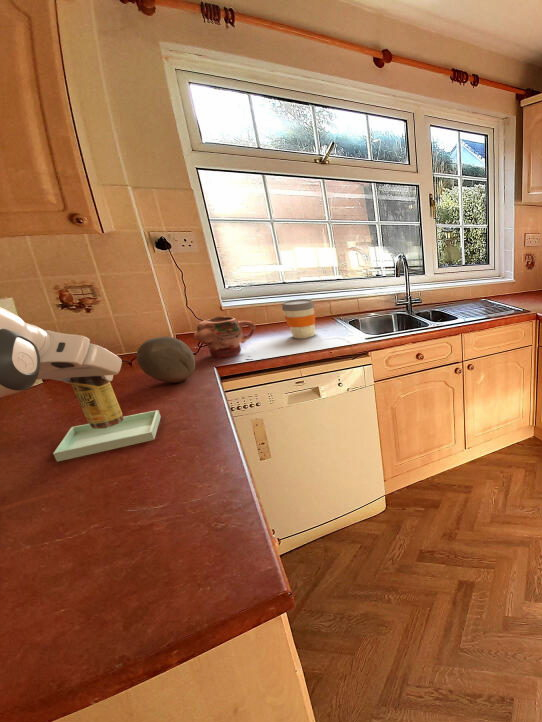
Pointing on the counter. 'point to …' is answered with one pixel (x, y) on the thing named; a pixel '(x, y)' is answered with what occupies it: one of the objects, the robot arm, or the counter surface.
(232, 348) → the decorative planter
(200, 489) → the counter surface
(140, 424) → the plastic tray
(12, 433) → the counter surface
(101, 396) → the sauce bottle
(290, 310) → the reusable coffee cup
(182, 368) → the cantaloupe
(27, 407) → the counter surface
